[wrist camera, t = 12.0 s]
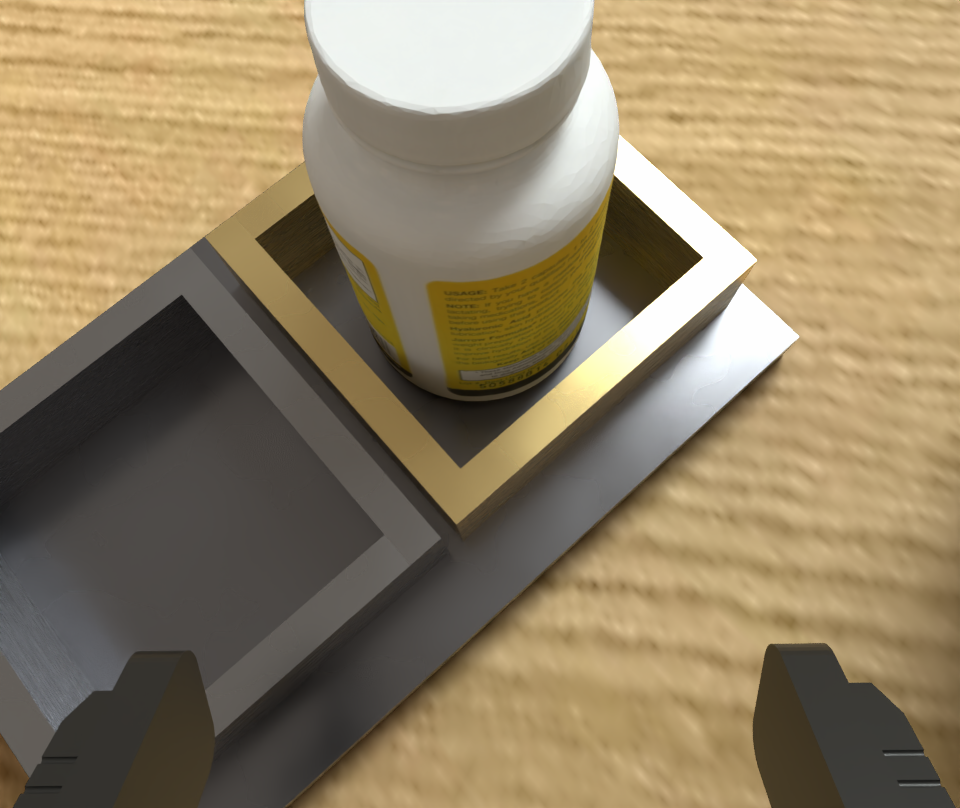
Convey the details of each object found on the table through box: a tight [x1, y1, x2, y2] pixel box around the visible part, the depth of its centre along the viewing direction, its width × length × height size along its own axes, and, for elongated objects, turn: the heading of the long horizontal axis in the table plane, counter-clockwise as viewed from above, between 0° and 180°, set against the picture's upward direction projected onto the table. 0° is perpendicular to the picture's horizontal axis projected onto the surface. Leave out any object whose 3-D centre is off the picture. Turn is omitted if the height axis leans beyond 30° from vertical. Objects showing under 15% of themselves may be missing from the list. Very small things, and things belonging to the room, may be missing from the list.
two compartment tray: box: [0, 135, 799, 808], centre depth 19 cm, size 19×12×4 cm, turn 131°
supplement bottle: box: [303, 0, 619, 401], centre depth 16 cm, size 5×5×10 cm
